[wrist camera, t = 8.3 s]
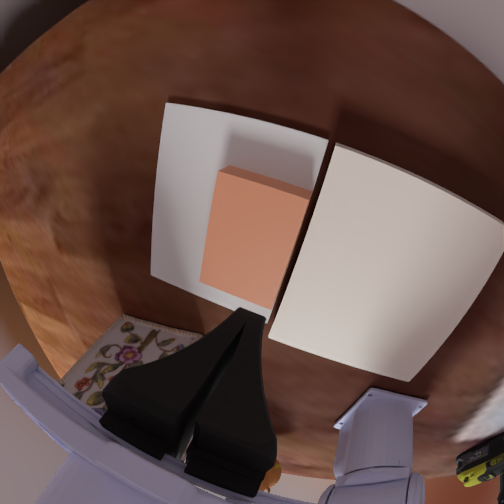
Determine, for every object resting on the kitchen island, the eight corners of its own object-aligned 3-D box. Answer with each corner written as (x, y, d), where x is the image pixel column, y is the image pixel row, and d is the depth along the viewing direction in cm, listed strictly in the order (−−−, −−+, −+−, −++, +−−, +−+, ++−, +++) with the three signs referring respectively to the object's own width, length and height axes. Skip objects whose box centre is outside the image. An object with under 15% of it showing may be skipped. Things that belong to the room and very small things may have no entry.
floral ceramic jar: (220, 395, 34) (160, 510, 19) (147, 373, 37) (81, 464, 22) (205, 330, 29) (109, 478, 13) (121, 309, 32) (25, 412, 17)
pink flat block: (277, 294, 23) (271, 309, 21) (209, 269, 24) (199, 281, 22) (312, 191, 19) (309, 200, 17) (229, 165, 19) (217, 171, 18)
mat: (268, 320, 25) (267, 323, 25) (152, 272, 27) (150, 275, 27) (328, 139, 17) (328, 140, 17) (169, 102, 19) (165, 102, 19)
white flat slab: (407, 366, 23) (408, 382, 21) (273, 322, 25) (267, 337, 23) (502, 220, 15) (513, 231, 13) (336, 142, 17) (335, 145, 15)
